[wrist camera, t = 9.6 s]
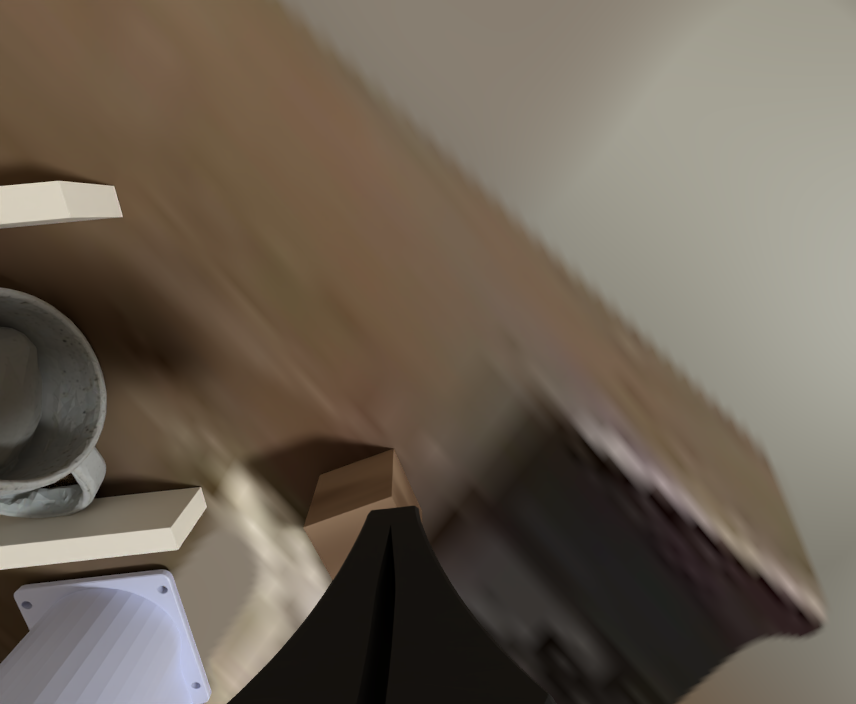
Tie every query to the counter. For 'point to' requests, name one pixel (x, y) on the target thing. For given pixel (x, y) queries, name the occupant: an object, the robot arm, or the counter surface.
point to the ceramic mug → (47, 410)
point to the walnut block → (354, 504)
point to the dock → (104, 517)
